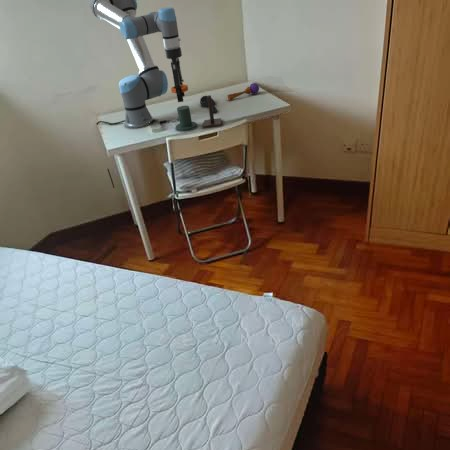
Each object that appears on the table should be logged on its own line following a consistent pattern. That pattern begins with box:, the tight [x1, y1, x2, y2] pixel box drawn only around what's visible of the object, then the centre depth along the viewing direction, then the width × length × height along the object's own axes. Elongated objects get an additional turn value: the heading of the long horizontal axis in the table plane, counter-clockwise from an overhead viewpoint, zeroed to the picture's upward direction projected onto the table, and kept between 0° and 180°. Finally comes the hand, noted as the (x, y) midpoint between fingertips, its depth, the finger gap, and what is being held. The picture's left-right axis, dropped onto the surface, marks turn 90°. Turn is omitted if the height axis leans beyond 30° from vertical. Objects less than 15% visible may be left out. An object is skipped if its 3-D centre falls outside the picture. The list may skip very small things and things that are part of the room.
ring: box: [170, 84, 189, 94], centre depth 207 cm, size 8×8×2 cm
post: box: [203, 94, 222, 129], centre depth 214 cm, size 9×9×14 cm
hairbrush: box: [199, 94, 218, 114], centre depth 239 cm, size 8×4×25 cm
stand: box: [175, 105, 198, 132], centre depth 216 cm, size 11×11×10 cm
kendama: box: [226, 82, 260, 102], centre depth 246 cm, size 6×6×20 cm
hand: (181, 98), depth 210 cm, fingers closed on ring, 8 cm apart
